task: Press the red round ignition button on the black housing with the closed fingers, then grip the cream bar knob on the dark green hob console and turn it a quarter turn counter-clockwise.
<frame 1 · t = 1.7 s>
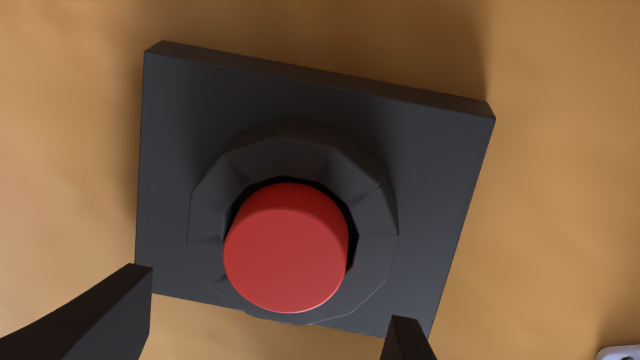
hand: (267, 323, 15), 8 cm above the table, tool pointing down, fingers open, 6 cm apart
ignition button: (287, 247, 18), point 4 cm above the table, slide at 0.2 cm
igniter: (303, 190, 22), on the table
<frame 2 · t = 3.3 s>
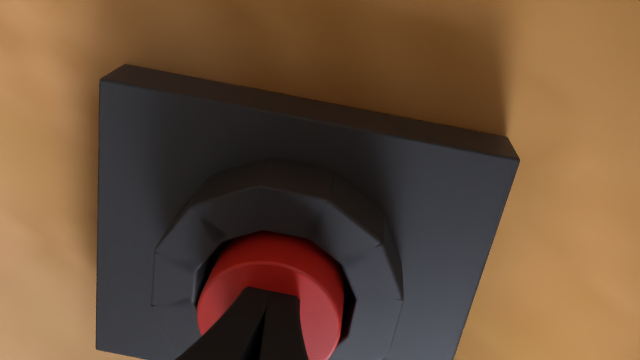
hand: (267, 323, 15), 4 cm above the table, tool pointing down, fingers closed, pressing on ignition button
ignition button: (273, 303, 16), point 4 cm above the table, slide at -0.4 cm, touching gripper
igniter: (291, 236, 19), on the table
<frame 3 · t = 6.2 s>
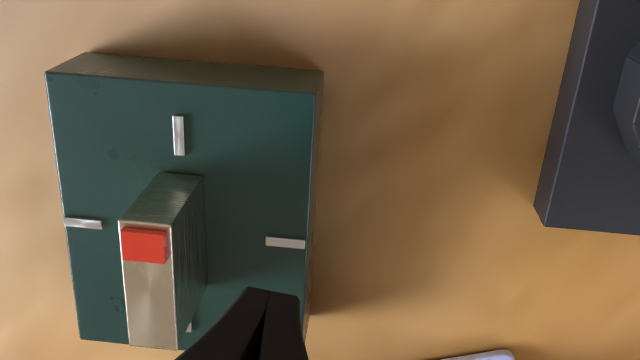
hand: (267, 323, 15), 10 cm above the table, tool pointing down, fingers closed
hob console: (205, 195, 24), on the table
hob knob: (166, 260, 20), point 5 cm above the table, hinge at 0.0°
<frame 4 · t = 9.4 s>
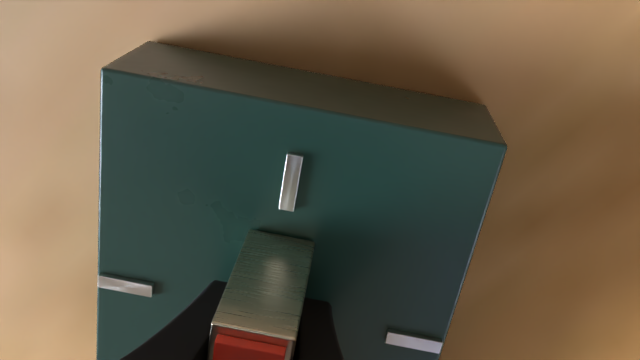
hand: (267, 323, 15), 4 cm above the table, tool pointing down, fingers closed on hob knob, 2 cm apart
hob console: (286, 250, 18), on the table
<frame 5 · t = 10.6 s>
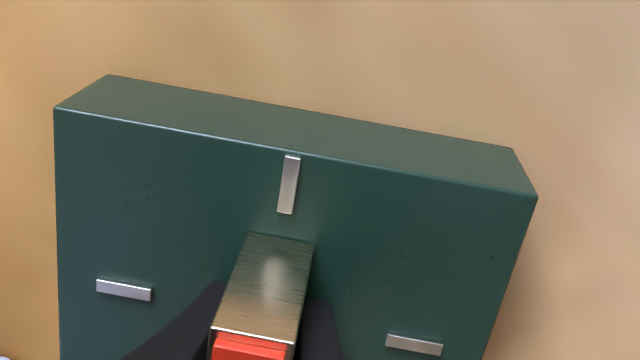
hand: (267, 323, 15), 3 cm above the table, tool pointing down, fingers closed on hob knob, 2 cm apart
hob console: (286, 252, 18), on the table
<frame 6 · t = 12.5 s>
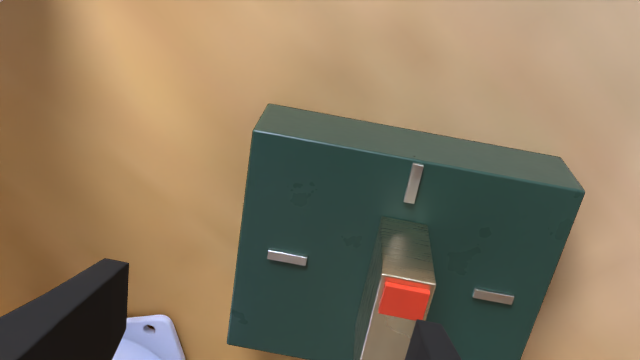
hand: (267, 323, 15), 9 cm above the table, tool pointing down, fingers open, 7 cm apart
hob console: (388, 233, 24), on the table
hob knob: (390, 308, 20), point 5 cm above the table, hinge at 89.6°
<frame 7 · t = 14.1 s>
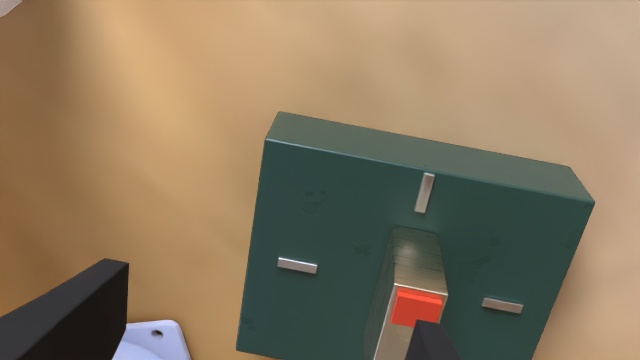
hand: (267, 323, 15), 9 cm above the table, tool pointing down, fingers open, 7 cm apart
hob console: (397, 241, 24), on the table
hob knob: (401, 317, 20), point 5 cm above the table, hinge at 89.6°
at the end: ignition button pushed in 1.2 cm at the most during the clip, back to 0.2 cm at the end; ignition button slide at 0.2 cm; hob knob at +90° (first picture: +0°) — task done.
